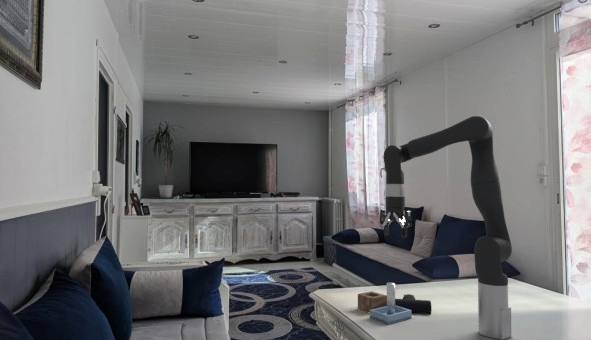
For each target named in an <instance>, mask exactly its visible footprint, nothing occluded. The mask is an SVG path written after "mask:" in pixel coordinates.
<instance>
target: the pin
mask: <svg viewBox="0 0 591 340" xmlns="http://www.w3.org/2000/svg"><path fill="white" fill-rule="evenodd" d="M386 295H387V315H391V314H395V299H396V283H395V282H386Z"/></svg>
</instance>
